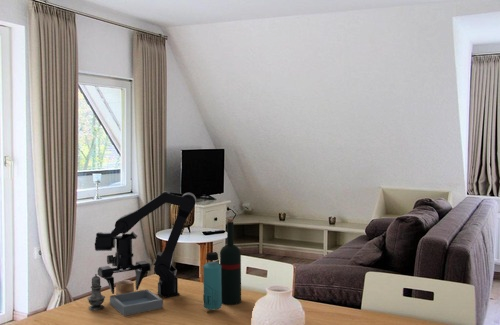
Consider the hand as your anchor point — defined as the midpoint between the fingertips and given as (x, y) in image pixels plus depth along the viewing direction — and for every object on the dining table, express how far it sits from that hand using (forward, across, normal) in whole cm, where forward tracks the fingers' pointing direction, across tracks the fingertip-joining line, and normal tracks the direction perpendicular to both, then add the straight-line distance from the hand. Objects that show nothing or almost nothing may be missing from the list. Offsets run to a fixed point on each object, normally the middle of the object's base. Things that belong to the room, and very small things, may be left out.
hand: (125, 291), depth 197 cm
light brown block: (+1, 0, 0) cm, 1 cm away
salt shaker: (+2, +13, +8) cm, 16 cm away
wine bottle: (+2, -30, +27) cm, 40 cm away
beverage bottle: (+2, -19, +33) cm, 38 cm away
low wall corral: (+1, +1, +14) cm, 14 cm away
